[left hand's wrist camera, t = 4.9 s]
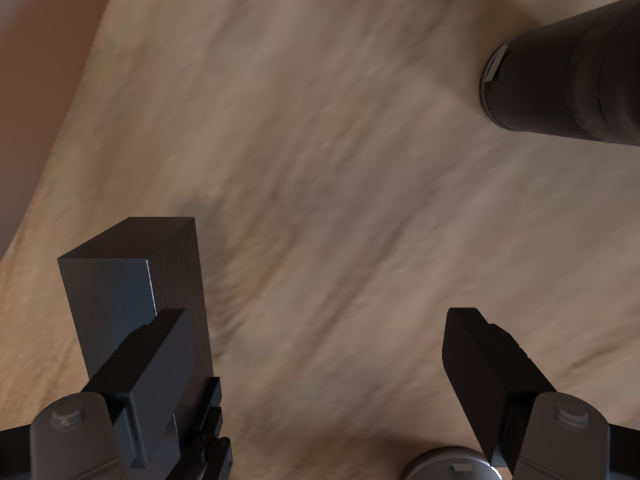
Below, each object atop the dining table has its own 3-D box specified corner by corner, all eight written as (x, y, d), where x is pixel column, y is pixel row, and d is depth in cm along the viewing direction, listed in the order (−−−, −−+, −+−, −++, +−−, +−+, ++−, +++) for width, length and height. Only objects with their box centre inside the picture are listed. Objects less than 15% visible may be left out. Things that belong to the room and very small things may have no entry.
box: (129, 216, 33) (56, 258, 24) (194, 216, 33) (146, 258, 24) (164, 408, 40) (119, 494, 31) (217, 408, 40) (188, 494, 31)
